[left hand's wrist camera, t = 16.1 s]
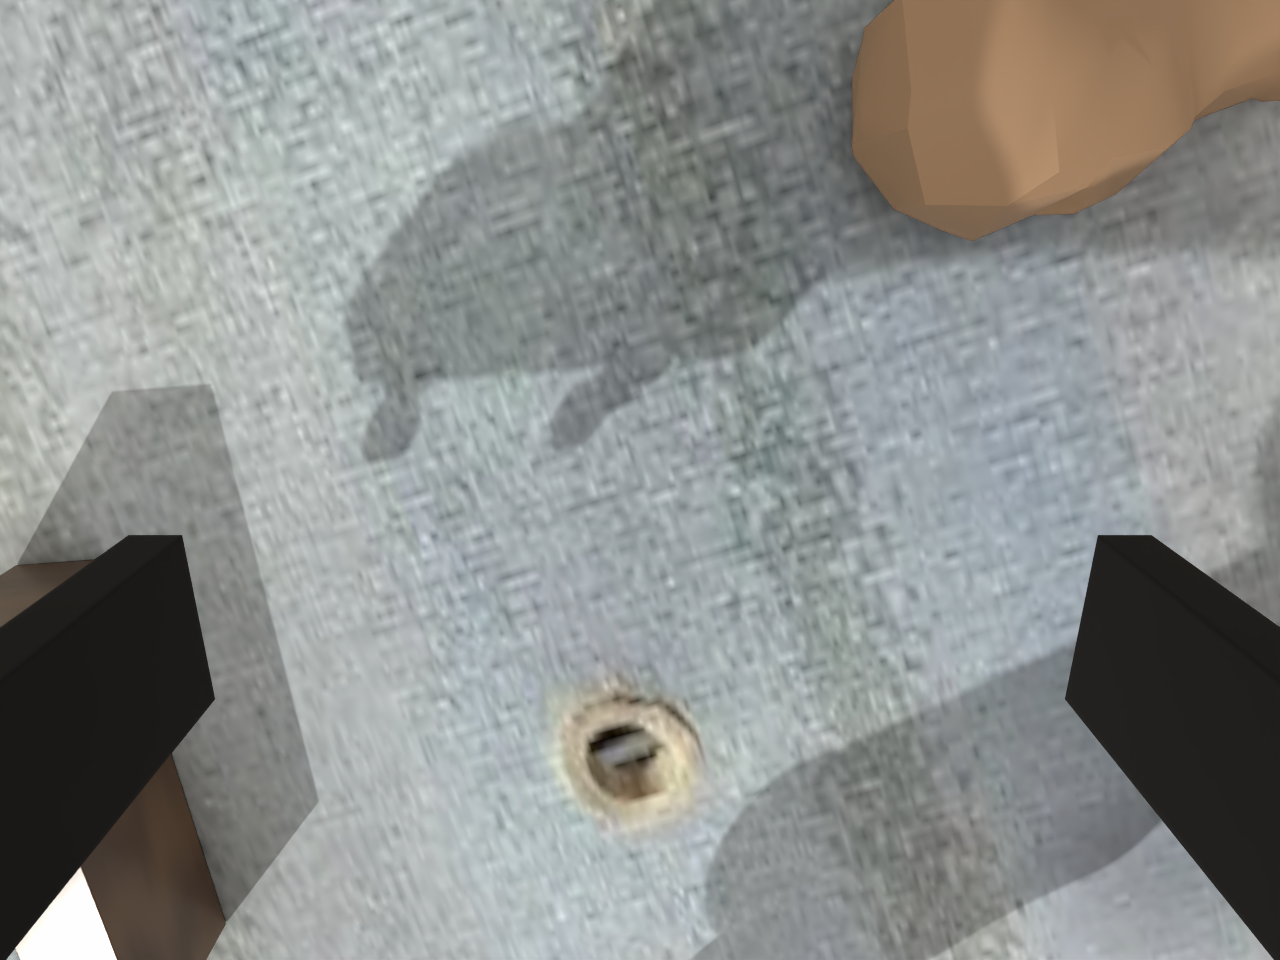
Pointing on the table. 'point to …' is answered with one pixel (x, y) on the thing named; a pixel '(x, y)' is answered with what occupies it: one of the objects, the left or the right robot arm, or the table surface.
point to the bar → (125, 856)
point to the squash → (1044, 98)
